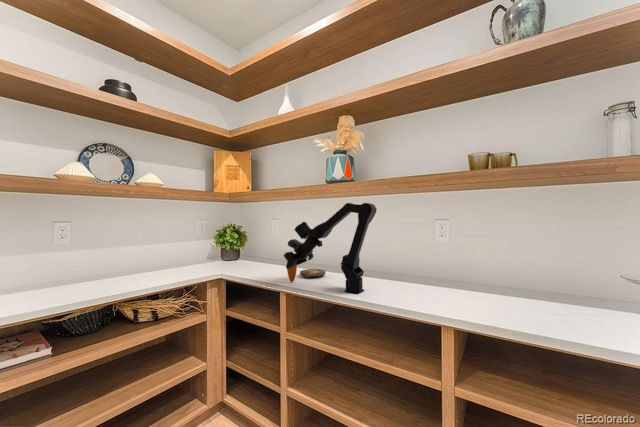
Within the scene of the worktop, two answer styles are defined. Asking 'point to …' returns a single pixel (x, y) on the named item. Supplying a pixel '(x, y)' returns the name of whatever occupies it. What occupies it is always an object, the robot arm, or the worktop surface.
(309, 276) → the walnut base
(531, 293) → the worktop surface
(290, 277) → the carrot
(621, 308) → the worktop surface
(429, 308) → the worktop surface
